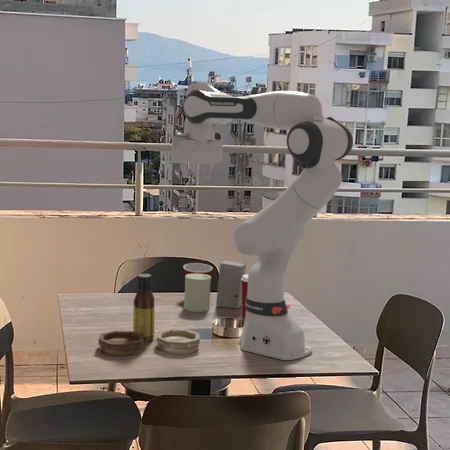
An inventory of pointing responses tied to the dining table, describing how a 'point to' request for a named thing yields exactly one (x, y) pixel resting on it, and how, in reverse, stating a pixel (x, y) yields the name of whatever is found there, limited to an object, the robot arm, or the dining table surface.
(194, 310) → the can
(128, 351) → the walnut ring seat
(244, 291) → the paper cup
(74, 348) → the dining table surface
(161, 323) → the dining table surface
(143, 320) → the sauce bottle
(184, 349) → the birch ring seat
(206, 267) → the plastic cup
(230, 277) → the skincare box
